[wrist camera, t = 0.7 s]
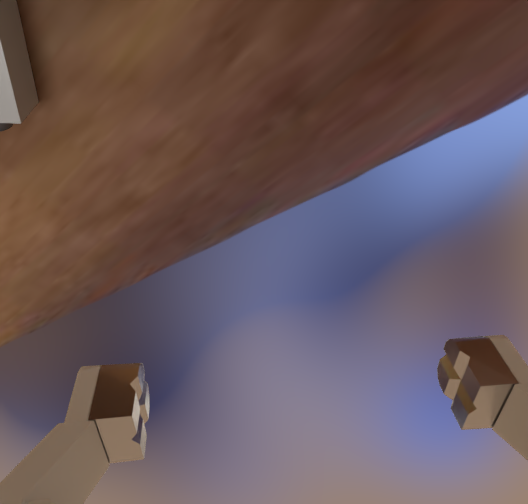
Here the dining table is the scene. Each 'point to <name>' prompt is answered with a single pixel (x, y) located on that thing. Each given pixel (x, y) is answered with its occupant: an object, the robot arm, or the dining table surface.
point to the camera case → (14, 69)
